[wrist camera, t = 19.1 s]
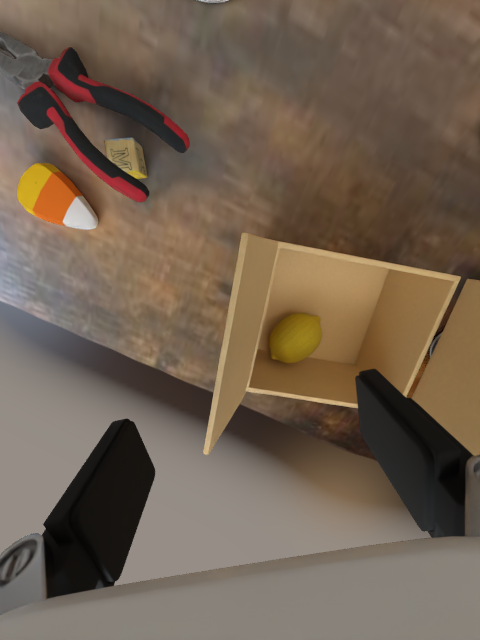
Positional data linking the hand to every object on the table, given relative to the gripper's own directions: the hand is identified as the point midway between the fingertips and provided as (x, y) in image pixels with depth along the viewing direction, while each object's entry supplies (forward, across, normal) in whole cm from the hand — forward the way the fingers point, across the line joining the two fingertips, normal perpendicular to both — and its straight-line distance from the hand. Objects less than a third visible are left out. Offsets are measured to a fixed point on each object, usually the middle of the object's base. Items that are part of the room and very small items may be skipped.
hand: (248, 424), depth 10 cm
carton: (+24, -9, +4) cm, 26 cm away
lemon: (+22, -9, +4) cm, 24 cm away
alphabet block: (+24, +8, -18) cm, 31 cm away
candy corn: (+23, +20, -18) cm, 35 cm away
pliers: (+19, +4, -14) cm, 24 cm away
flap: (+9, 0, 0) cm, 9 cm away
